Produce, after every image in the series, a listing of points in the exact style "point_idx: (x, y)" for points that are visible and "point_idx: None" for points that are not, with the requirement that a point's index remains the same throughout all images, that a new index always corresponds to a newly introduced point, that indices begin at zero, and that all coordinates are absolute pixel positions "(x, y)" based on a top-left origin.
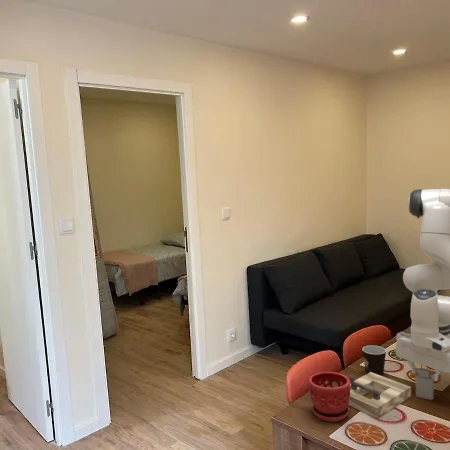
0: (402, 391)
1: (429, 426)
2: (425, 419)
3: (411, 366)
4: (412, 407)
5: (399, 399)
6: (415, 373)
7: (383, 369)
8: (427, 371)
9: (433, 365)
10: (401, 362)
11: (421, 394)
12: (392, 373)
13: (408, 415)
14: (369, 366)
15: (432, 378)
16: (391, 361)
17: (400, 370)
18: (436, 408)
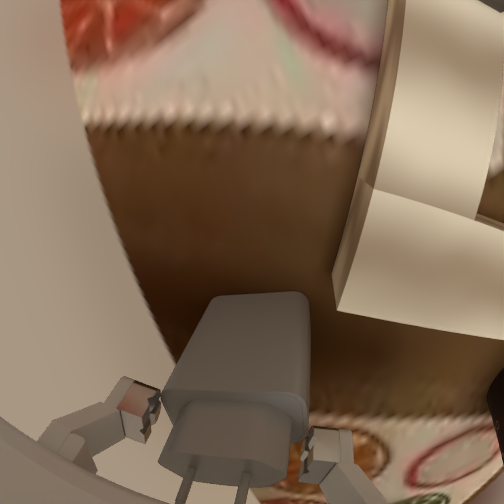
0: (379, 193)
1: (125, 4)
2: (160, 47)
3: (354, 481)
4: (276, 133)
5: (375, 128)
6: (314, 430)
7: (500, 415)
8: (179, 453)
9: (42, 483)
10: (410, 491)
11: (266, 303)
12: (447, 430)
13: (260, 21)
14: None
15: (142, 393)
16: (444, 481)
17: (415, 459)
18: (152, 212)
